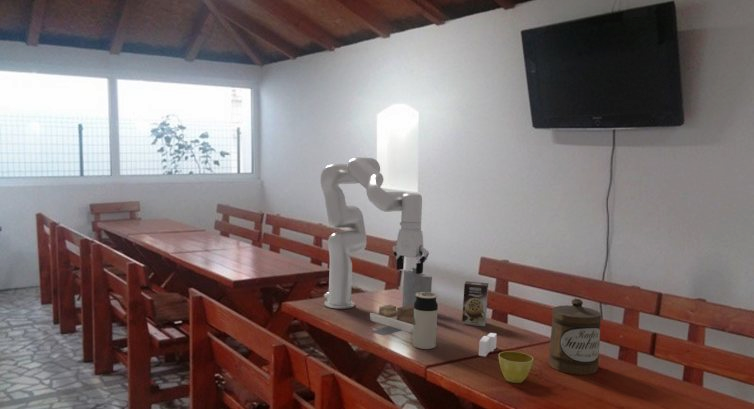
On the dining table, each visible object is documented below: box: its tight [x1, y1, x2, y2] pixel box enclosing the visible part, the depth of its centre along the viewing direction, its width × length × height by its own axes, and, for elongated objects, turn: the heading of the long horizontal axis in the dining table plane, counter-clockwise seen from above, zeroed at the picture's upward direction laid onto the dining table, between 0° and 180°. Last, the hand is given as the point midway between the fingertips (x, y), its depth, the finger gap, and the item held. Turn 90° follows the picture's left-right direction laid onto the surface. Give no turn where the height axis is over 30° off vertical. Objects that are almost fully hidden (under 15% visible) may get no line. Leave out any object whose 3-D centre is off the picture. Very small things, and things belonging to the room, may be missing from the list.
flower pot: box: [498, 350, 534, 384], centre depth 184 cm, size 10×10×7 cm
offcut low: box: [377, 312, 397, 318], centre depth 244 cm, size 4×8×2 cm, turn 136°
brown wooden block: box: [396, 305, 414, 325], centre depth 237 cm, size 3×8×7 cm, turn 136°
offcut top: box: [378, 304, 397, 315], centre depth 244 cm, size 4×6×2 cm, turn 136°
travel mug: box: [412, 292, 439, 350], centre depth 212 cm, size 8×8×18 cm
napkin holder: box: [478, 332, 497, 357], centre depth 210 cm, size 15×11×6 cm
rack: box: [369, 309, 413, 334], centre depth 239 cm, size 22×12×3 cm, turn 46°
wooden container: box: [548, 298, 602, 376], centre depth 197 cm, size 15×15×22 cm
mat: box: [371, 326, 402, 336], centre depth 229 cm, size 6×10×1 cm, turn 136°
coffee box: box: [461, 280, 489, 327], centre depth 244 cm, size 9×6×16 cm
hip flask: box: [401, 267, 433, 307], centre depth 252 cm, size 16×4×20 cm, turn 36°
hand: (409, 271), depth 235 cm, fingers open, 9 cm apart
